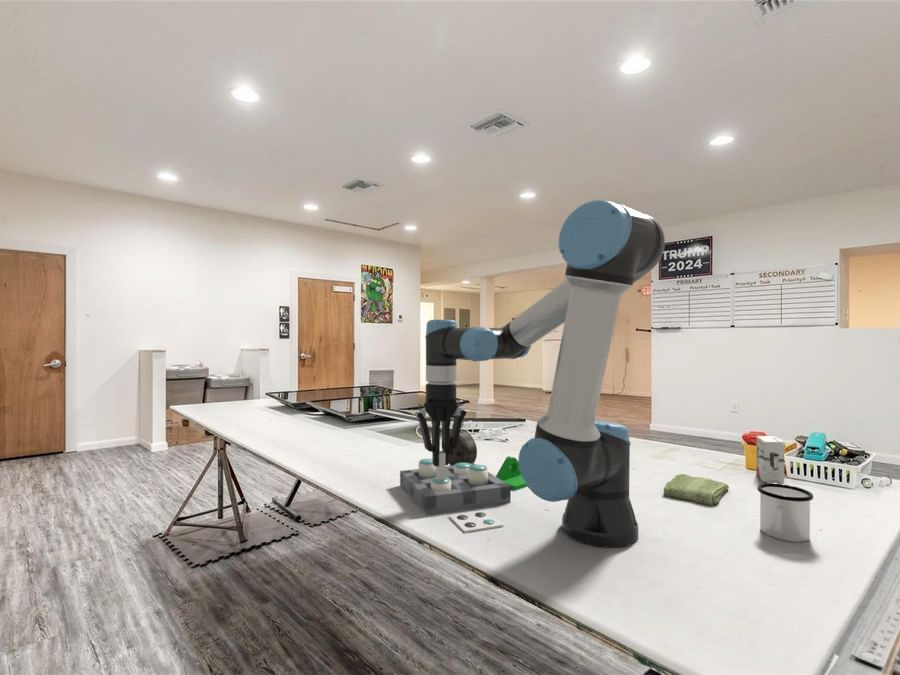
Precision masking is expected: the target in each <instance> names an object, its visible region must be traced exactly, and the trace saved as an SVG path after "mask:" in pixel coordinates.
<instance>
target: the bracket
mask: <svg viewBox="0 0 900 675" xmlns="http://www.w3.org/2000/svg"><path fill="white" fill-rule="evenodd" d="M495 477H497V478H499V479H500V480H502V481H503V482H505V483H507V484H508V485H510V486H511V490H513V491H519V490H521V489H524V488H528V487H527V485H526V483H525V480H524V479H523V478H522V476H521V473H520V469H519V462H518V459H517V458H516V457H513V456H510V455H509V456H506V458H505V459H504V461H503V463H502V464H501V466H500V468H499V470H498V472H497V474H496V475H495Z"/></svg>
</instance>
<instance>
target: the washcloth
mask: <svg viewBox="0 0 900 675" xmlns="http://www.w3.org/2000/svg"><path fill="white" fill-rule="evenodd" d="M729 488H730V487H729V485H728V484H727V483H725V482H721V481H717V480H713V479H711V478H706V477H703V476H702V477H701V476H691V475H688V474H686V473H681V474H676V475H675V476H674V477H673V478H671V480H670V481H667V483H666V484H665V486H664V487H663V494H664V495H665V496H666V497H670V496H671V497H670V498H676V499H681V500H688V501H691V502H692V501H693V502H695V503H698V504H699V503H700V504H704V505H708V506H715V505H716V504H718V503H719V502H720V500H721V498H722V496H724V494H725V492H726V491H727V490H728V489H729ZM719 499H720V500H719Z"/></svg>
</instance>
